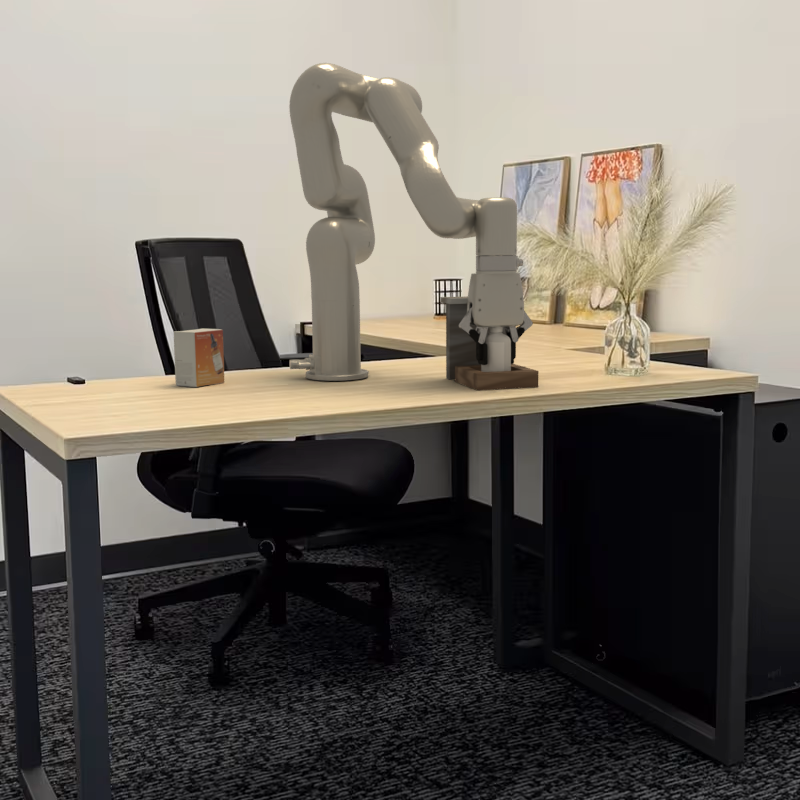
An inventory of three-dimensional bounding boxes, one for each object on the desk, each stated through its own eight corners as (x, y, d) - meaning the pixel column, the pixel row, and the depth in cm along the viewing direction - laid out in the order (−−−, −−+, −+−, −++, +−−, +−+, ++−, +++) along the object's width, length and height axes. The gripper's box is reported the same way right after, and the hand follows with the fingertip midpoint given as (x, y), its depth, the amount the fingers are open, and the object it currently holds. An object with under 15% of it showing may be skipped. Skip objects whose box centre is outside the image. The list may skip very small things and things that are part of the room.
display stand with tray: (543, 386, 179) (544, 299, 176) (472, 390, 175) (472, 301, 172) (506, 375, 195) (506, 295, 193) (440, 378, 191) (440, 297, 189)
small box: (196, 388, 182) (193, 332, 180) (174, 386, 185) (172, 330, 183) (225, 382, 188) (223, 328, 187) (204, 380, 191) (202, 327, 190)
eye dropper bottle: (492, 380, 179) (493, 315, 177) (478, 376, 184) (478, 313, 182) (513, 378, 180) (513, 314, 179) (498, 375, 186) (499, 312, 184)
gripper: (529, 264, 185) (529, 359, 188) (446, 266, 180) (446, 363, 183) (546, 265, 178) (545, 363, 181) (460, 266, 173) (460, 368, 176)
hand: (495, 362), depth 182 cm, fingers closed on eye dropper bottle, 4 cm apart
